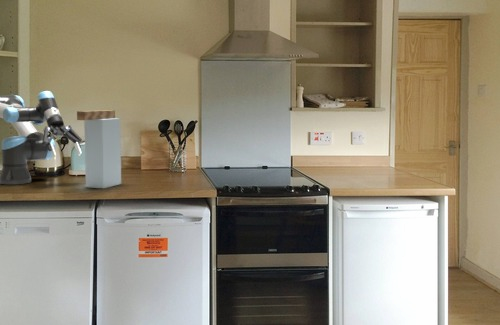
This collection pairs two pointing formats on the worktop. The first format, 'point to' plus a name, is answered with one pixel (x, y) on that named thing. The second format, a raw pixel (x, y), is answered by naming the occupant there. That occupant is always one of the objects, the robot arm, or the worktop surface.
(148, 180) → the worktop surface
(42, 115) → the robot arm
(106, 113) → the rod
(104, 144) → the stand
